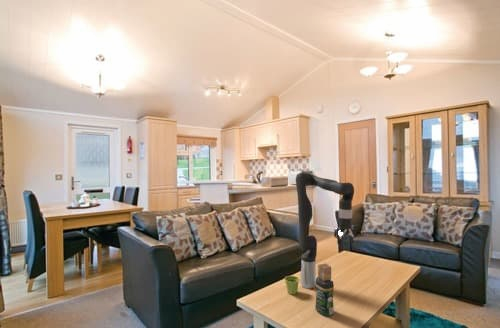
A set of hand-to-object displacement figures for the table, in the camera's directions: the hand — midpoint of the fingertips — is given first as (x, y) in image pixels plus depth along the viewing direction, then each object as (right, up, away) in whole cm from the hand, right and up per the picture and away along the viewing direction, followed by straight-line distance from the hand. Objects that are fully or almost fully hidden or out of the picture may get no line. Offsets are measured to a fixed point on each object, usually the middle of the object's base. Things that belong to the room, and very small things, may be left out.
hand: (345, 244), depth 159 cm
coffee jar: (-15, -35, -10) cm, 39 cm away
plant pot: (-30, -34, +12) cm, 47 cm away
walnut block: (-15, -16, -10) cm, 24 cm away
